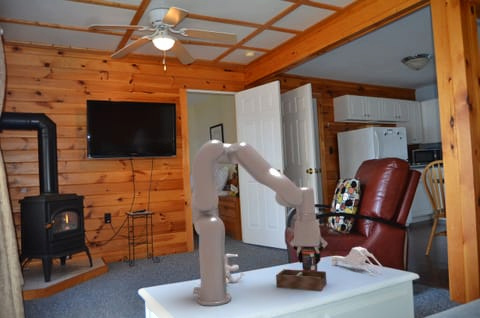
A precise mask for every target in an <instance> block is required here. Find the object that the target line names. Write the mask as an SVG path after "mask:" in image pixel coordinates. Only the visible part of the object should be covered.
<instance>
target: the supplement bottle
mask: <svg viewBox="0 0 480 318" xmlns="http://www.w3.org/2000/svg"><path fill="white" fill-rule="evenodd" d="M301 252H302V263H301V264H302V267H301V268H302V270H303V271H304V272H309V273H312V272H316V271H319V270H318V264H316V257H315V254H316V250H315V248H314V247H302V251H301Z"/></svg>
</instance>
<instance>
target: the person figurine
mask: <svg viewBox="0 0 480 318" xmlns="http://www.w3.org/2000/svg"><path fill="white" fill-rule="evenodd" d="M238 256H239V255H238V253H236V254H233V253H225V266H226V285H228V284H229V283H233V284H236V283H238V282H239V281H240V279H241V278H242V277H243V276H244V275H245V274H244V273H243V272H241V273H240V275H239V276H238V277H236V278H234V277H233V276H232V274H231V272H236V271H238V270H240V266H239V265H238V264H232V265H229V261H228V260H229V258H233V257H236V258H238ZM197 287H199V288H201V283H200V284H199V285H198V286H197Z"/></svg>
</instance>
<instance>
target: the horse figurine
mask: <svg viewBox="0 0 480 318" xmlns="http://www.w3.org/2000/svg"><path fill="white" fill-rule="evenodd" d="M368 257H371V258H372V259H373V260H374V261H375V262H376V263H377V264H378V266H379V268H380V269H382V266H383V265H382V264H381V263H380V262H379V261H378V260H377V258H376V257H375V256H374V254H373V253H370V252H369V251H368V250H367V248H365V247H361V246H355V247H352V248H351V250H350V252H349V253H348V254H347V255H346V256H341V255H333V256H332V257H331V259H330V260H331V263H332V264H333V266H334V267H336V266H338V263H339V262H341V263H342V264H344V265H348V266H350V267H352V268H361V269H362V270H365V271H366V272H367V273H369V274H370V275H371V277H374V273H372V271H371V270H369V269H367V268H370V269H372V270H374V271H375V272H376V273H377V274H378V275H380V274H381V271H379V270H378V269H377V268H376V266H375V265H374V264H373V263H372V262H371V261H370V259H369V258H368ZM366 261H367V262H368V263H369V264H368V263H366ZM364 266H366V267H367V268H366V267H364Z"/></svg>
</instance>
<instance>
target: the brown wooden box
mask: <svg viewBox="0 0 480 318" xmlns="http://www.w3.org/2000/svg"><path fill="white" fill-rule="evenodd" d="M300 272H302V274H303V276H296V275H297V274H298V273H300ZM275 281H276V289H287V290H288V289H290V290H301V291H302V290H303V291H315V292H322V291H323V290H324V289H325V286H326V285H327V272H326V271H324V270H323V271H321V270H317V271H316V272H312V273H309V272H304V271H303V269H287V268H286V269H285V268H284V269H282V270H281V271H279V272H278V273H276V275H275Z"/></svg>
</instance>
